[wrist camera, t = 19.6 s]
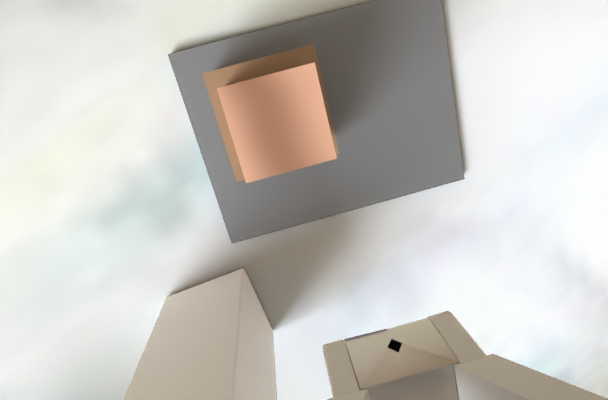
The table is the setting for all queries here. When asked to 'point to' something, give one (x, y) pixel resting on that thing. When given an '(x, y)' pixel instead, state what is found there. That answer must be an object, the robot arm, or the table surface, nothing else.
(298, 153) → the top block
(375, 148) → the building board
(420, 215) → the table surface
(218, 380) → the milk carton
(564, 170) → the table surface
